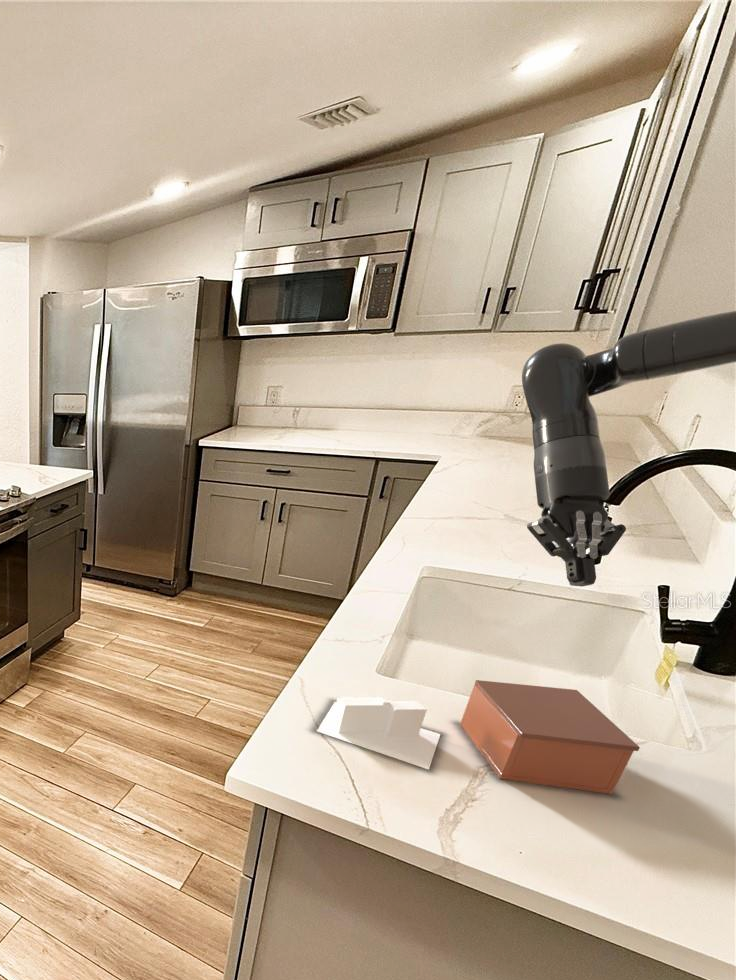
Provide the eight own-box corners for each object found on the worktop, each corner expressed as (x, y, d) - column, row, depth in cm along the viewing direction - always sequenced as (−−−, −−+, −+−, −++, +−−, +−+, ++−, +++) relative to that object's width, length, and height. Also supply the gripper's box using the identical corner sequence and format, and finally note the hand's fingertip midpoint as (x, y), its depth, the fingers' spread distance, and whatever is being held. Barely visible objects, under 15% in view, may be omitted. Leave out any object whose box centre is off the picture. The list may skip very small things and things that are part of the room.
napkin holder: (316, 731, 100) (323, 702, 98) (334, 701, 108) (340, 673, 105) (430, 770, 91) (440, 738, 88) (440, 733, 98) (451, 703, 96)
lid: (638, 751, 81) (640, 747, 80) (519, 737, 85) (521, 733, 84) (575, 693, 93) (577, 689, 93) (474, 683, 97) (475, 679, 96)
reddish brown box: (611, 794, 84) (635, 748, 81) (499, 778, 88) (517, 734, 85) (556, 735, 96) (575, 693, 93) (459, 724, 100) (474, 683, 97)
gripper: (551, 460, 88) (564, 576, 85) (641, 467, 88) (657, 583, 85) (502, 479, 96) (513, 586, 93) (586, 485, 96) (599, 593, 93)
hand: (582, 585), depth 89 cm, fingers closed
